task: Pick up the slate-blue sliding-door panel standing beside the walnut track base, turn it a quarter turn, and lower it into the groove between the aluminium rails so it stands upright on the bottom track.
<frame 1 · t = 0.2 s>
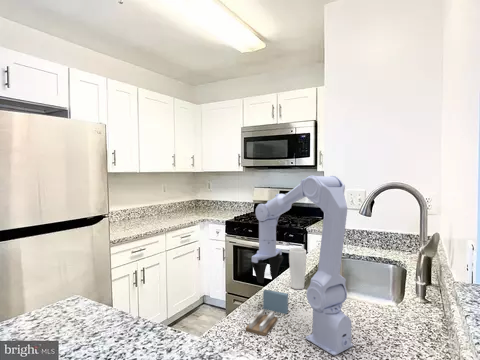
hand: (267, 279, 98), 9 cm above the worktop, fingers open, 7 cm apart
drinking glass: (297, 288, 116), on the worktop
door panel: (275, 310, 95), on the worktop
bottom track: (262, 325, 85), on the worktop
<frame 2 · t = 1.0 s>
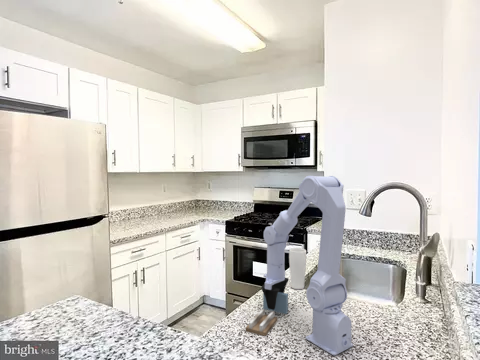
hand: (275, 304, 96), 2 cm above the worktop, fingers open, 7 cm apart
nothing on the worktop moved.
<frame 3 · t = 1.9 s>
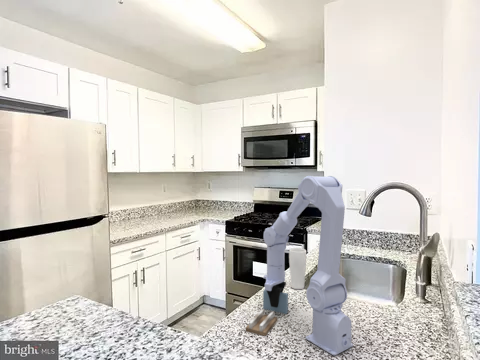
hand: (275, 305, 95), 2 cm above the worktop, fingers closed on door panel, 2 cm apart
door panel: (275, 310, 95), on the worktop, touching gripper
everything else where it was.
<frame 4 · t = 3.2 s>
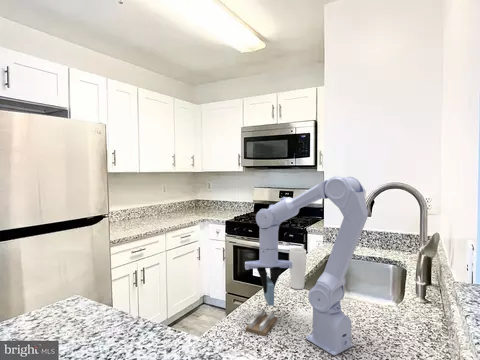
hand: (268, 291, 90), 8 cm above the worktop, fingers closed on door panel
door panel: (268, 299, 89), point 6 cm above the worktop, touching gripper
everything else where it was.
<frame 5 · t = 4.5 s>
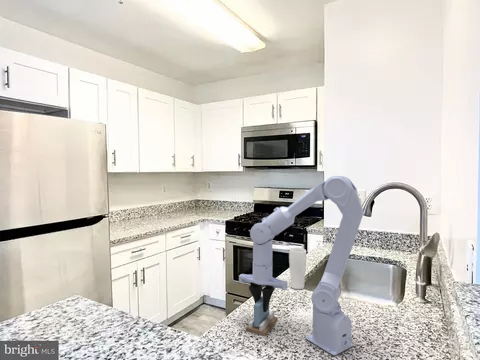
hand: (262, 309, 85), 5 cm above the worktop, fingers closed on door panel, 2 cm apart
door panel: (261, 320, 85), point 2 cm above the worktop, touching gripper
everything else where it was.
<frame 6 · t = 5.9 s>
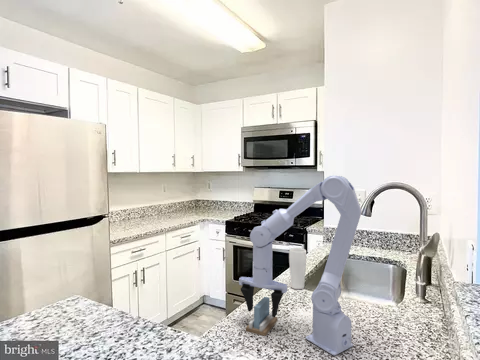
hand: (262, 312, 85), 4 cm above the worktop, fingers open, 7 cm apart
door panel: (261, 322, 85), point 1 cm above the worktop, touching bottom track
everything else where it was.
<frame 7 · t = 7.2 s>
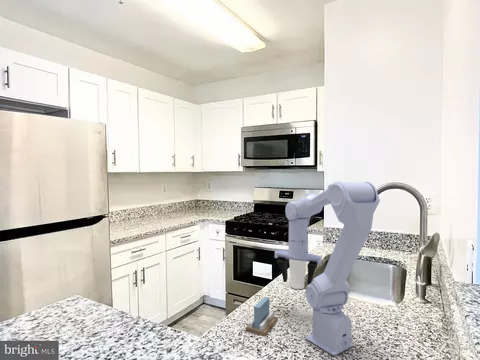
hand: (297, 283, 91), 10 cm above the worktop, fingers open, 7 cm apart
nothing on the worktop moved.
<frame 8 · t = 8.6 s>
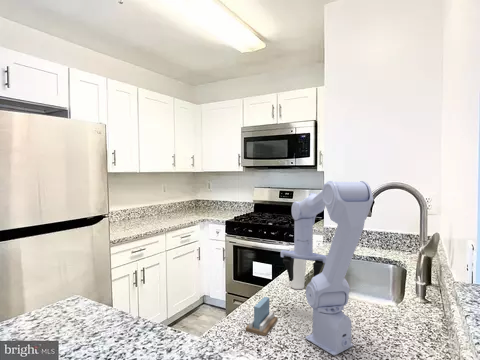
hand: (303, 282, 92), 10 cm above the worktop, fingers open, 7 cm apart
nothing on the worktop moved.
at the end: door panel 0.1 cm off-centre on the bottom track, point 1.0 cm above the bottom track's base; door panel tilted 0°; the gripper is holding nothing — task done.
